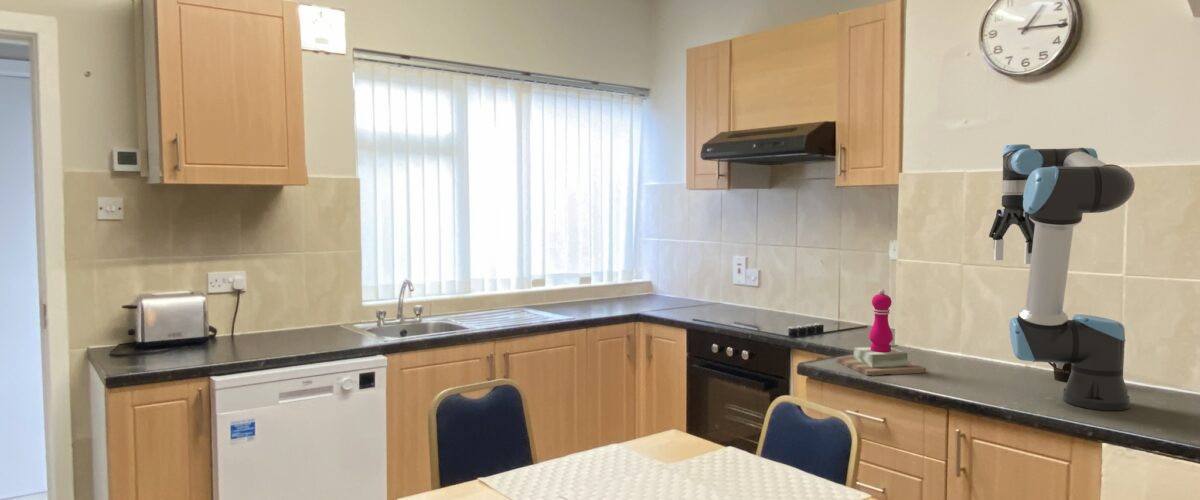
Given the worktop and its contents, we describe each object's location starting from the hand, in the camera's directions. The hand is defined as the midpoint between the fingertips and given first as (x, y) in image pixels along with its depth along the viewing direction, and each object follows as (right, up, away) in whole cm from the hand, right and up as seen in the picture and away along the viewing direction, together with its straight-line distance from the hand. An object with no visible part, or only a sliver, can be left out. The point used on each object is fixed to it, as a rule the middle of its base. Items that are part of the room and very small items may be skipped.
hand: (1013, 262), depth 239 cm
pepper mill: (-39, -29, +8) cm, 49 cm away
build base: (-39, -34, +8) cm, 53 cm away
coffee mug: (+10, -35, -9) cm, 38 cm away
